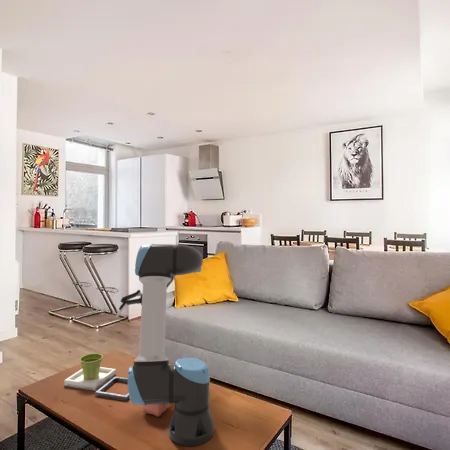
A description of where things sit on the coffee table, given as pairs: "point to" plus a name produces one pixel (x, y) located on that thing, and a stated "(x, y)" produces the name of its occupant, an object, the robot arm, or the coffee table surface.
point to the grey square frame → (112, 395)
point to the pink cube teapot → (155, 409)
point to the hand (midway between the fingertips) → (129, 325)
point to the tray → (93, 384)
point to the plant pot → (91, 365)
